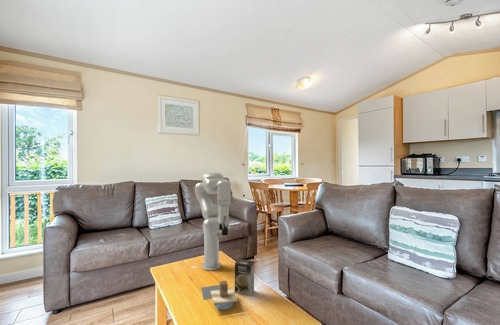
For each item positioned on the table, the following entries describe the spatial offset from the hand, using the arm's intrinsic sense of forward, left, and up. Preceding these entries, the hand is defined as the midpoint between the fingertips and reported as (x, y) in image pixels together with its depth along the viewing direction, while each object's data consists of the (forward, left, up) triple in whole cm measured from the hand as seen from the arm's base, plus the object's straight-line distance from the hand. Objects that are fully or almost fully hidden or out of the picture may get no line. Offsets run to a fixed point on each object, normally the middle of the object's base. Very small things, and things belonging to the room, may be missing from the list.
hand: (223, 232), depth 134 cm
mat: (+8, -6, -29) cm, 31 cm away
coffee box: (+13, +9, -29) cm, 33 cm away
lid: (+20, -4, -25) cm, 32 cm away
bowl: (+20, -3, -29) cm, 36 cm away
